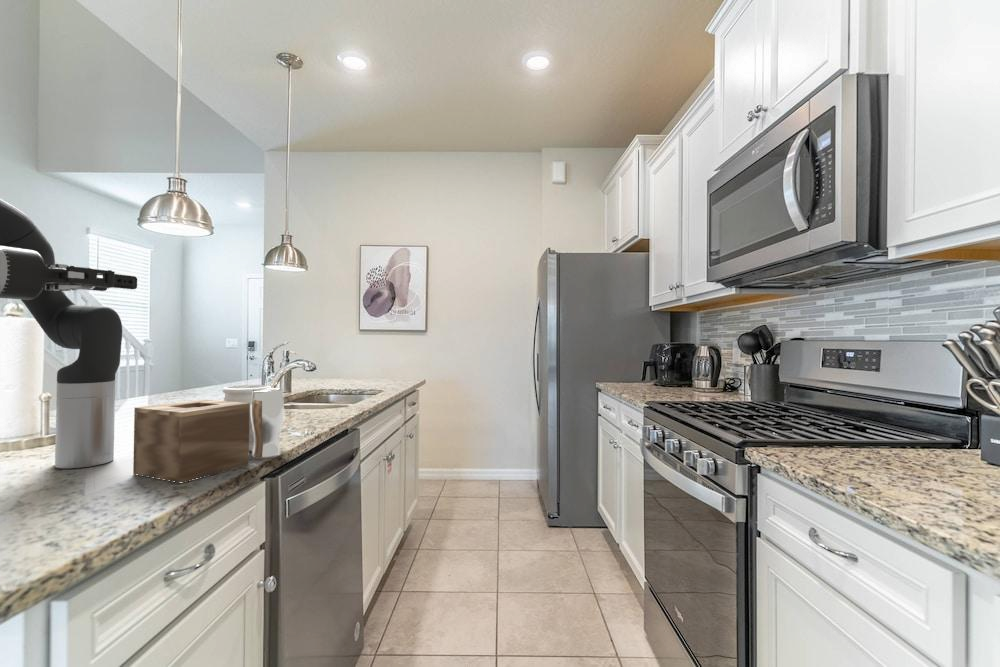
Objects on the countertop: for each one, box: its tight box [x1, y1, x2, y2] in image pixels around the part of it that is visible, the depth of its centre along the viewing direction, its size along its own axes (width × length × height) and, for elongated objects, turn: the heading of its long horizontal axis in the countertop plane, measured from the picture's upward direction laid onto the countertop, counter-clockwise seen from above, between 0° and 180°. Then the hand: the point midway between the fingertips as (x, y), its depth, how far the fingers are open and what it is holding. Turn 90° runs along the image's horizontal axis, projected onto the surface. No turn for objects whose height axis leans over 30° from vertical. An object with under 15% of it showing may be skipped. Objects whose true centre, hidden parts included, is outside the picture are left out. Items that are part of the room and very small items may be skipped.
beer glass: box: [250, 387, 285, 460], centre depth 105 cm, size 7×7×15 cm
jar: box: [222, 384, 272, 453], centre depth 112 cm, size 11×10×15 cm
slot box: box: [132, 398, 250, 482], centre depth 94 cm, size 14×14×13 cm
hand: (120, 284), depth 81 cm, fingers open, 8 cm apart
